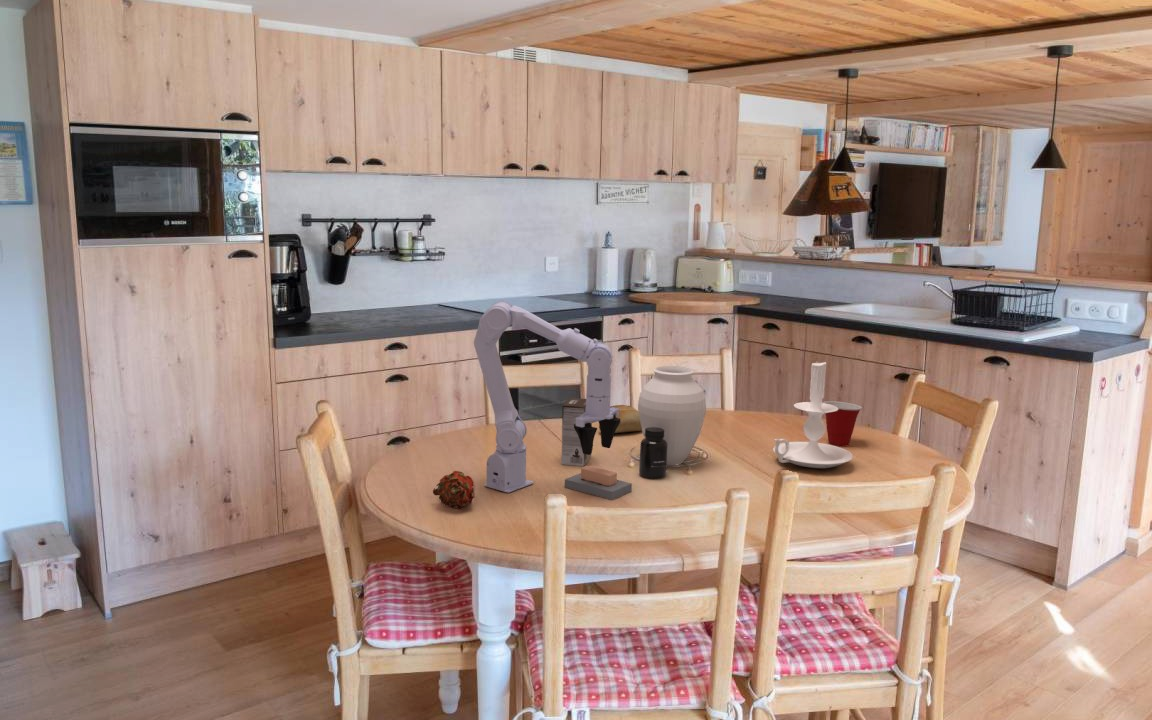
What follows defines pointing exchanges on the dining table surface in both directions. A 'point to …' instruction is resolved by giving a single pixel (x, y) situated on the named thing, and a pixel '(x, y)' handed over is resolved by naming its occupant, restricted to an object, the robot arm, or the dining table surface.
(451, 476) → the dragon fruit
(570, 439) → the coffee box
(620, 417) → the bread roll
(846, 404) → the plastic cup
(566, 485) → the gray rectangular slab
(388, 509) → the dining table surface
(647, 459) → the supplement bottle
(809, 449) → the candlestick
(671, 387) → the vase
